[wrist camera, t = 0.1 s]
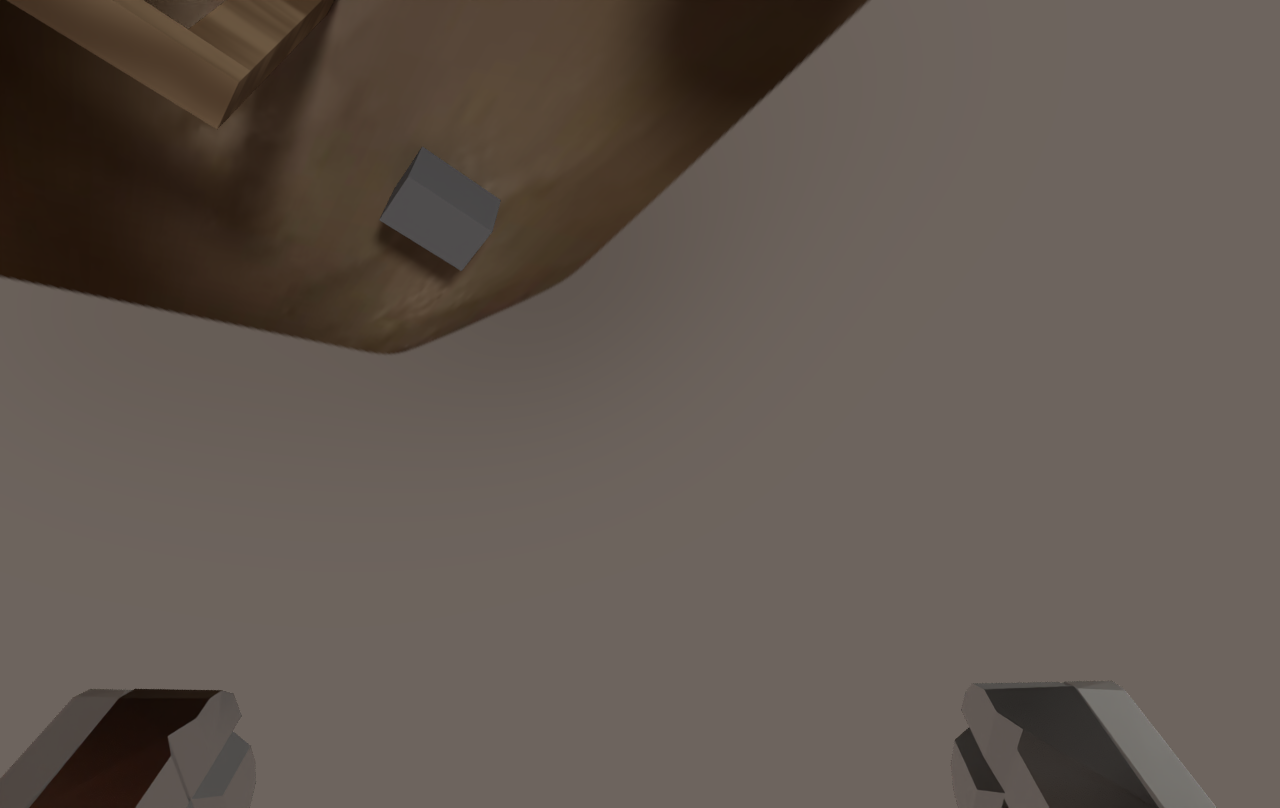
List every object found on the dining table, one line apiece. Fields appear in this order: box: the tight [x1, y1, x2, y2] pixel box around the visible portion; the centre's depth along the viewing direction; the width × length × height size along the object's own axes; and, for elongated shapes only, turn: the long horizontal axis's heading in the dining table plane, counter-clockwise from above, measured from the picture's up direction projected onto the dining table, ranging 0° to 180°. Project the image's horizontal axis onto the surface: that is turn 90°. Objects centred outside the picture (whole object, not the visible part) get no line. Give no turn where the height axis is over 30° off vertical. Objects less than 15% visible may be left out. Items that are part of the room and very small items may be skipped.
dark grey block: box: [380, 147, 501, 271], centre depth 59 cm, size 4×7×5 cm, turn 50°
